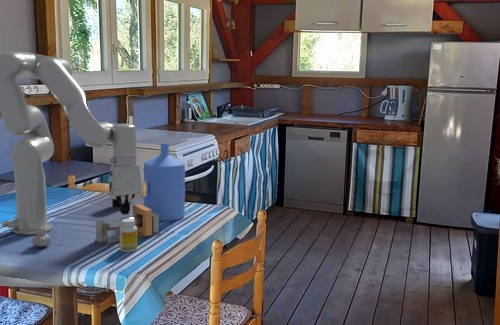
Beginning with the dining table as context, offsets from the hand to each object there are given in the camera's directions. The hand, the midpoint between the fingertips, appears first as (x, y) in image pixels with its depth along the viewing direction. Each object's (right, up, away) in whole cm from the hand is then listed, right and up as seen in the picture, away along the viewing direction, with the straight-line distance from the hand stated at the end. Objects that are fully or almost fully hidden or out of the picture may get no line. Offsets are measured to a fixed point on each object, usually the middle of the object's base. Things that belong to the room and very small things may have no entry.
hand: (124, 213), depth 179 cm
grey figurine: (-23, -9, -15) cm, 28 cm away
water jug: (+10, -3, +23) cm, 25 cm away
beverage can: (-10, -1, +34) cm, 35 cm away
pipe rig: (+2, -8, -3) cm, 8 cm away
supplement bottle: (+5, -10, -14) cm, 18 cm away
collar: (+6, -7, +1) cm, 9 cm away
